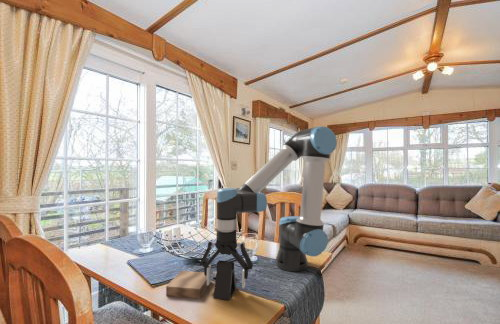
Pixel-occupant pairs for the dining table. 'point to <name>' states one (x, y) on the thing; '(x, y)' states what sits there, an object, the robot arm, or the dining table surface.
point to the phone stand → (225, 280)
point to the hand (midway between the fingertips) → (225, 285)
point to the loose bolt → (214, 275)
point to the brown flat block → (187, 285)
